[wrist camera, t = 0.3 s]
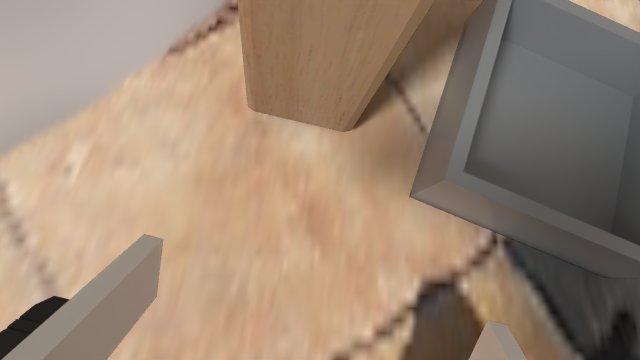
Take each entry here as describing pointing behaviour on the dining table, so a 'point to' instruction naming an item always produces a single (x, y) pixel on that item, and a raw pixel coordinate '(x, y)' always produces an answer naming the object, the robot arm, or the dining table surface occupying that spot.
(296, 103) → the block
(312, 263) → the dining table surface
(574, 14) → the box
